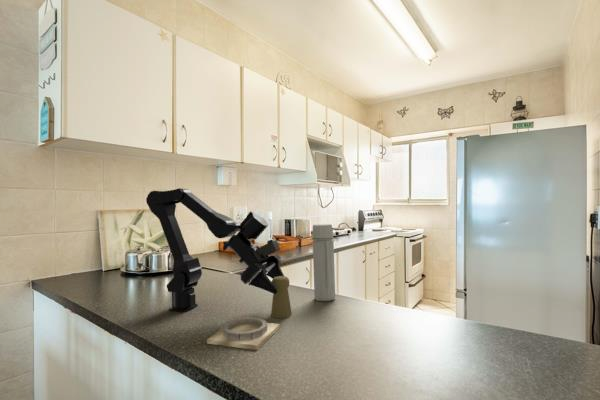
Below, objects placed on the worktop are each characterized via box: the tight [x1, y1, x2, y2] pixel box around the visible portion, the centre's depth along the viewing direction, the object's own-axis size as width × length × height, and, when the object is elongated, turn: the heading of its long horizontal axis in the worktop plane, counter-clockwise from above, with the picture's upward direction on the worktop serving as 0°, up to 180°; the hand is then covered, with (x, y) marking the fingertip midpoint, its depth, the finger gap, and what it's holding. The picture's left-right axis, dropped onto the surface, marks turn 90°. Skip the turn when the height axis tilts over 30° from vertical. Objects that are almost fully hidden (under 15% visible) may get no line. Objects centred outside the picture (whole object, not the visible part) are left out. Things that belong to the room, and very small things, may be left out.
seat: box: [206, 316, 281, 351], centre depth 76 cm, size 13×13×2 cm
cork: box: [270, 275, 293, 319], centre depth 91 cm, size 6×6×11 cm
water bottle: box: [311, 223, 336, 302], centre depth 104 cm, size 9×8×25 cm
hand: (281, 288), depth 91 cm, fingers open, 9 cm apart
